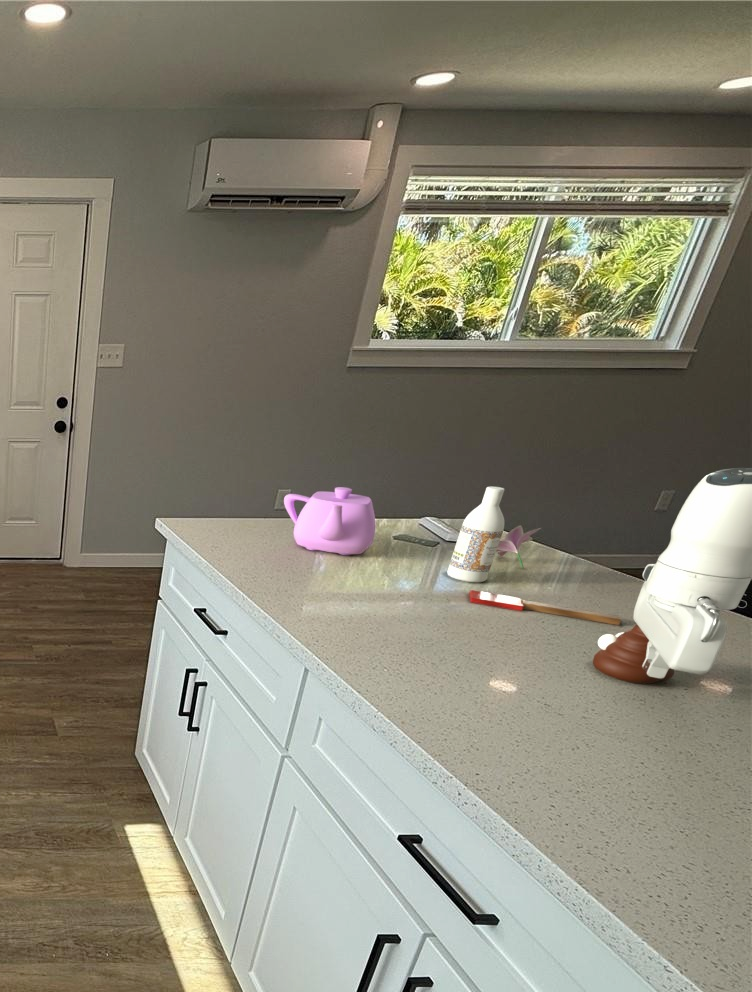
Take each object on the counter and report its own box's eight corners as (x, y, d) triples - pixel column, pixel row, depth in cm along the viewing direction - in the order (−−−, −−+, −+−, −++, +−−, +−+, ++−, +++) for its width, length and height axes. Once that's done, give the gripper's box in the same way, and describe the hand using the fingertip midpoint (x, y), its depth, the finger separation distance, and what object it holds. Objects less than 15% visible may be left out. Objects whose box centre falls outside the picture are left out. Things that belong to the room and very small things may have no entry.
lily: (534, 564, 149) (523, 525, 150) (564, 560, 138) (552, 518, 139) (474, 576, 153) (464, 537, 154) (499, 573, 142) (488, 532, 143)
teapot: (281, 531, 172) (292, 476, 166) (372, 544, 161) (387, 486, 155) (265, 554, 155) (277, 493, 149) (365, 570, 144) (382, 505, 138)
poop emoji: (634, 689, 96) (661, 634, 92) (573, 663, 104) (595, 611, 100) (685, 682, 98) (713, 628, 94) (621, 657, 105) (645, 605, 102)
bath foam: (468, 584, 135) (499, 492, 128) (438, 573, 142) (466, 485, 134) (493, 581, 137) (526, 490, 129) (463, 570, 143) (492, 483, 135)
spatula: (614, 618, 119) (617, 612, 119) (621, 628, 115) (623, 622, 115) (468, 594, 131) (470, 588, 130) (470, 602, 127) (472, 596, 126)
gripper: (759, 618, 78) (707, 712, 84) (702, 569, 94) (661, 652, 99) (686, 606, 82) (641, 698, 87) (642, 562, 97) (607, 642, 103)
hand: (652, 673), depth 93 cm, fingers closed
